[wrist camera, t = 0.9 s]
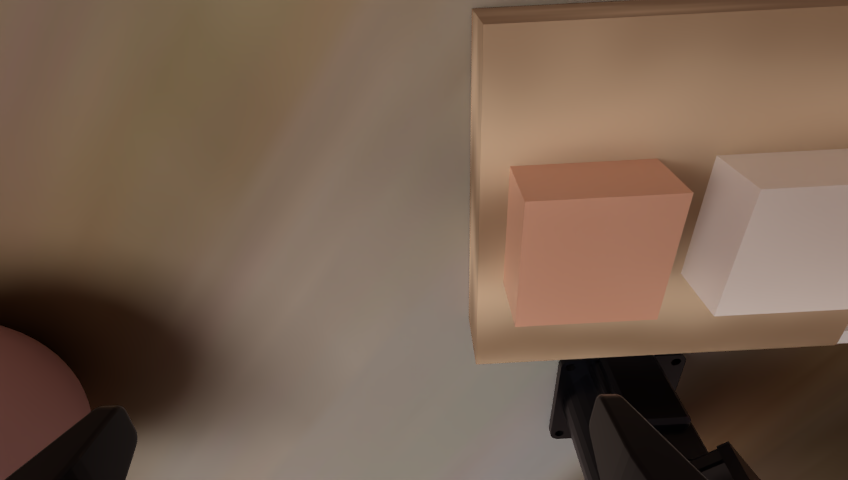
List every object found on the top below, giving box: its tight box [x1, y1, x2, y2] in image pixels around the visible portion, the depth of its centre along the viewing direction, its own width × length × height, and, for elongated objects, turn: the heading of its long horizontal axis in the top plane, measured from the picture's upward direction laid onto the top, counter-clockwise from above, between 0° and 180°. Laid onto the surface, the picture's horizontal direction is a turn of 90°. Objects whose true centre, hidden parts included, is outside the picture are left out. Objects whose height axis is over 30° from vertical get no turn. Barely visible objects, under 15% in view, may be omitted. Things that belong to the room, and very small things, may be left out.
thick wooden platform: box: [469, 0, 848, 364], centre depth 19 cm, size 14×16×3 cm
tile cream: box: [681, 149, 848, 316], centre depth 17 cm, size 5×5×2 cm
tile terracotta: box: [503, 159, 694, 327], centre depth 17 cm, size 5×5×2 cm
